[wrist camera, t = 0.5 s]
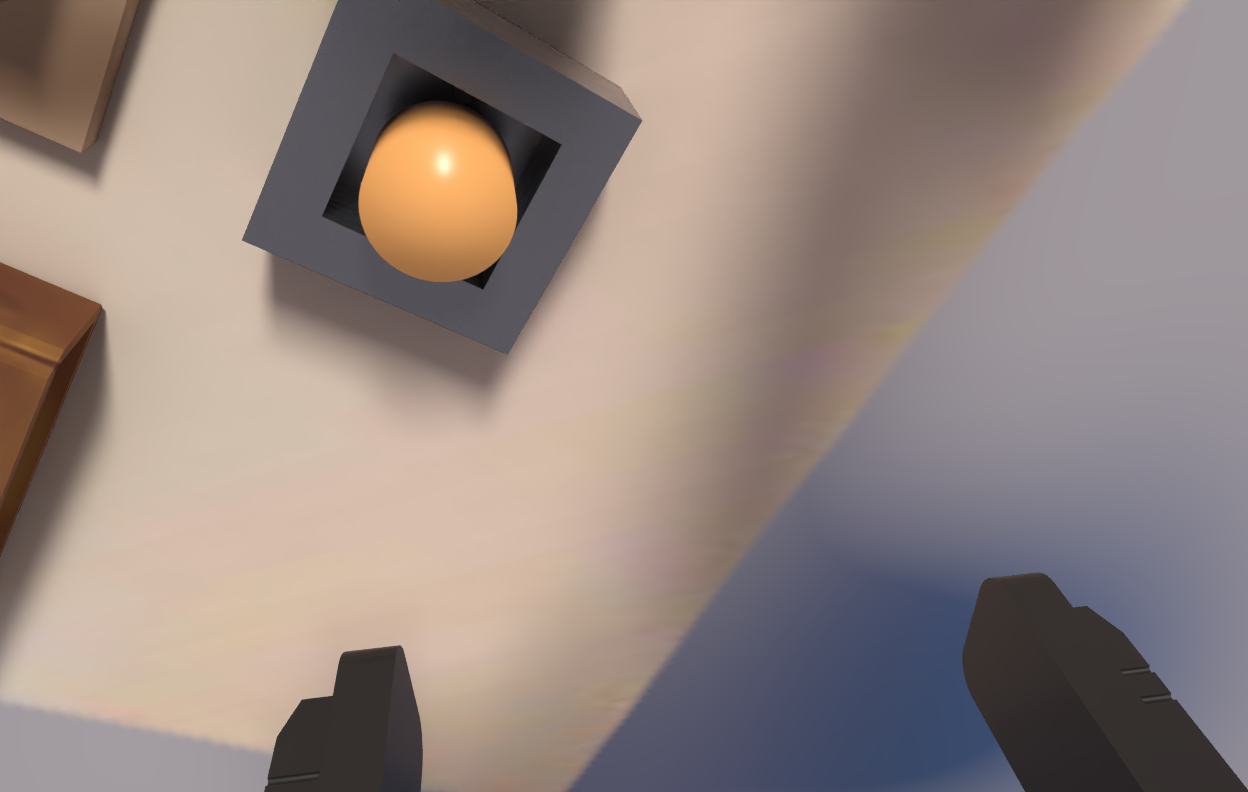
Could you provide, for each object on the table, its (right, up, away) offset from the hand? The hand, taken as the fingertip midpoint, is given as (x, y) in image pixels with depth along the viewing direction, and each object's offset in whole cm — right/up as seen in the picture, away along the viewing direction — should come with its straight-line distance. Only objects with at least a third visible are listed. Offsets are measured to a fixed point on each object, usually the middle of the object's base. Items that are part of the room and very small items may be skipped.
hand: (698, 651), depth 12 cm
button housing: (-8, +13, +22) cm, 27 cm away
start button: (-7, +11, +18) cm, 23 cm away
